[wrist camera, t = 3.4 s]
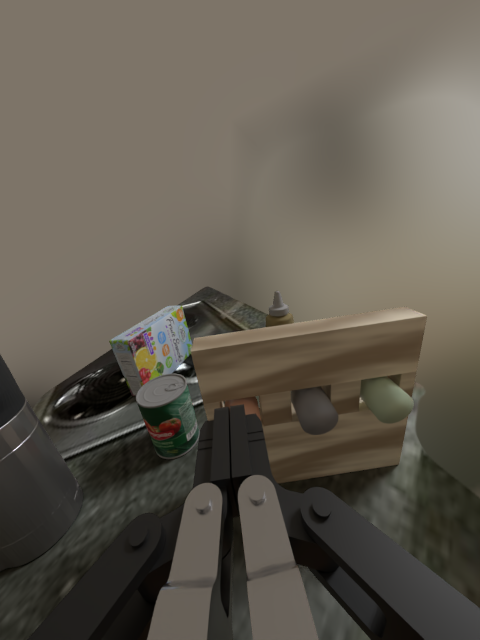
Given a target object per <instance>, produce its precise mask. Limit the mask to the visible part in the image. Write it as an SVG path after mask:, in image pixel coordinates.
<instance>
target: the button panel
mask: <svg viewBox="0 0 480 640" xmlns="http://www.w3.org/2000/svg"><path fill="white" fill-rule="evenodd" d="M426 319H427V316H426V315H424V314H422V313H419V312H417V311H414V310H412V309H409V308H407V307H399V308H392V309H386V310H379V311H372V312H366V313H360V314H353V315H346V316H339V317H332V318H326V319H319V320H312V321H306V322H300V323H293V324H286V325H279V326H273V327H266V328H259V329H253V330H246V331H239V332H233V333H226V334H219V335H213V336H206V337H200V338H194V342H193V345H192V349H191V355H192V359H193V363H194V367H195V371H196V375H197V379H198V383H199V387H200V391H201V395H202V399H203V403H204V407H205V411H206V415H207V419H208V421H211V420H214V409H216V408H222V407H224V404H223V401H227V400H234V399H240V398H247V397H253V396H259V402H260V408H259V412H260V417H261V422H262V427H263V432H264V437H265V442H266V447H267V453H268V458H269V463H270V468H271V472H272V475H273V478H274V479H275V481H276V482H277V483H278V484H279V483H285V482H291V481H298V480H304V479H310V478H316V477H323V476H329V475H335V474H342V473H348V472H354V471H361V470H367V469H373V468H380V467H386V466H392V465H398V464H399V461H400V456H401V451H402V445H403V440H404V435H405V430H406V424H407V419H408V416H407V417H406V418H404V419H403V420H401V421H399V422H396V423H391V424H386V423H382V422H380V421H379V420H378V419H377V417H376V416H375V415H374V414H373V413H372V411H371V410H370V409H369V408H368V406H367V405H366V404H365V403H364V402H363V400H362V399H361V398H360V388H361V380H364V379H370V378H377V377H383V376H387V377H389V378H390V379H391V380H392V381H393V382H394V383H395V384H396V385H398V386H399V387H400V388H401V389H402V390H403V391H404V392H406V393H407V394H408V395H409V396H410V397H411V398H412V393H413V388H414V382H415V377H416V372H417V367H418V361H419V355H420V351H421V345H422V340H423V335H424V330H425V325H426ZM318 386H321V387H322V389H323V390H324V392H325V394H326V395H327V397H328V399H329V400H330V402H331V403H332V405H333V407H334V408H335V410H336V411H337V413H338V422H337V424H336V426H335V427H334V428H333V429H332V430H330V431H329V432H327V433H325V434H321V435H311V434H308V433H306V432H305V431H304V430H303V429H302V427H301V425H300V422H299V419H298V417H297V414H296V412H295V409H294V407H293V404H292V403H291V393H290V391H292V390H299V389H305V388H312V387H318Z"/></svg>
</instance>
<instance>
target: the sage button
mask: <svg viewBox="0 0 480 640" xmlns="http://www.w3.org/2000/svg"><path fill="white" fill-rule="evenodd" d="M360 398H361V399H362V400H363V402H364V403H365V404H366V405H367V406H368V408H369V409H370V410H371V411H372V413H373V414H374V415H375V416H376V417H377V419H378V420H379V421H380V422H382V423H386V424H391V423H396V422H399V421H401V420H403V419H404V418H406V417H407V416H408V415H409V414H410V413H411V411H412V409H413V405H414V402H413V399H412V398H411V397H410V396H409V395H408V394H407V393H406V392H404V391H403V390H402V389H401V388H400V387H399V386H398V385H396V384H395V383H394V382H393V381H392V380H391V379H390V378H389V377H387V376H383V377H377V378H370V379H364V380H361V388H360Z"/></svg>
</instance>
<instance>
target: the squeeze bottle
mask: <svg viewBox="0 0 480 640" xmlns="http://www.w3.org/2000/svg"><path fill="white" fill-rule="evenodd" d="M293 323H294V320H293V316H292V314H290V313H289V309H288V305H286V304H283V301H282V297H281V294H280V292H279V291H276V292H275V294H274V301H273V305H272V306H270V307H269V315H268V316H267V317H266V327H273V326H279V325H286V324H293Z"/></svg>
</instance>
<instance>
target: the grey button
mask: <svg viewBox="0 0 480 640" xmlns="http://www.w3.org/2000/svg"><path fill="white" fill-rule="evenodd" d="M291 402H292V404H293V407H294V409H295V412H296V414H297V417H298V419H299V422H300V425H301V427H302V429H303V430H304V431H305V432H306V433H308V434H311V435H321V434H325V433H327V432H329V431H330V430H332V429H333V428H334V427H335V426H336V424H337V422H338V413H337V411H336V410H335V408H334V407H333V405H332V403H331V402H330V400H329V399H328V397H327V395H326V394H325V392H324V390H323V389H322V387H321V386H318V387H312V388H305V389H299V390H292V392H291Z"/></svg>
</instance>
